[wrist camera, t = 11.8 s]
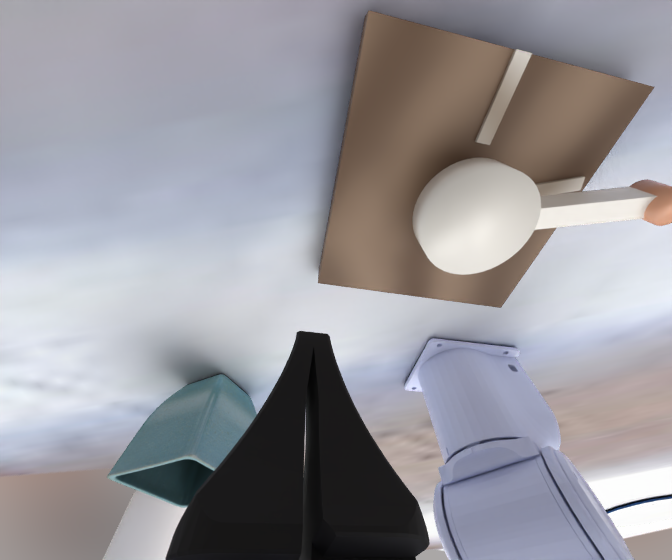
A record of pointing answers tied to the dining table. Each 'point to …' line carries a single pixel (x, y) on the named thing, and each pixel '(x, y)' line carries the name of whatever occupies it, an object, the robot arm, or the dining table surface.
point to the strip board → (456, 148)
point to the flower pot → (185, 440)
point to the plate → (643, 527)
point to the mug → (145, 529)
